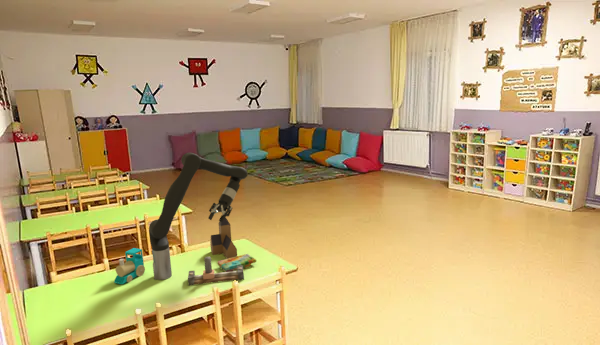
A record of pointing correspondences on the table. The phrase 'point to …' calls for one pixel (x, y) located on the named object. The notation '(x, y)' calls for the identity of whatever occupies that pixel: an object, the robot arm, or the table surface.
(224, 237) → the toy building blocks
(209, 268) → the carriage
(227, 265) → the puzzle game
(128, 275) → the toy train
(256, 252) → the table surface
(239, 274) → the rail bed
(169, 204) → the robot arm
